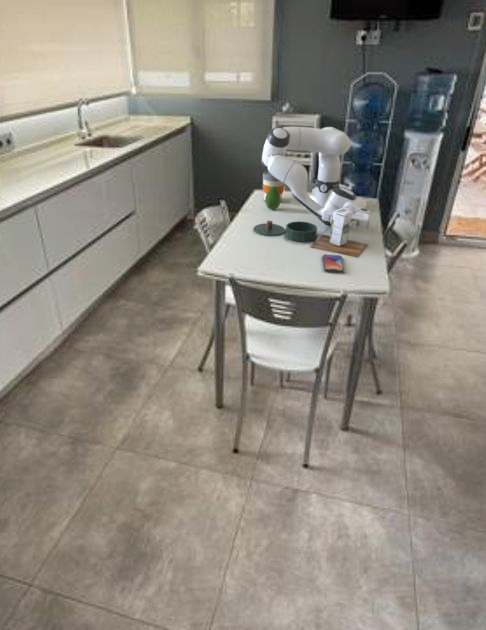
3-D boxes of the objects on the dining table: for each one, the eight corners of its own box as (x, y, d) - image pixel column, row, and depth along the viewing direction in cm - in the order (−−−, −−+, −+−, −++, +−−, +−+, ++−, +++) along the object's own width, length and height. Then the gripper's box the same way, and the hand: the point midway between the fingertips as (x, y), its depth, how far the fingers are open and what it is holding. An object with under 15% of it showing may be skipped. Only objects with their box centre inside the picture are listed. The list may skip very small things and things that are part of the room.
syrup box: (336, 239, 198) (340, 207, 190) (347, 243, 195) (352, 210, 187) (328, 242, 195) (333, 210, 187) (340, 246, 191) (345, 214, 183)
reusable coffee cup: (268, 195, 256) (270, 169, 248) (288, 200, 250) (290, 172, 242) (256, 201, 247) (258, 173, 240) (276, 205, 241) (278, 177, 234)
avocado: (276, 206, 240) (277, 184, 234) (282, 211, 234) (283, 188, 228) (262, 207, 238) (263, 185, 232) (267, 212, 232) (269, 189, 225)
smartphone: (341, 257, 184) (341, 255, 184) (343, 273, 172) (343, 270, 171) (322, 256, 185) (323, 254, 185) (323, 271, 172) (324, 269, 172)
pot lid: (261, 223, 217) (262, 214, 214) (289, 229, 211) (290, 219, 209) (247, 233, 206) (248, 223, 204) (277, 239, 200) (277, 229, 198)
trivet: (322, 236, 205) (322, 234, 204) (366, 244, 196) (366, 243, 196) (311, 247, 193) (311, 245, 193) (357, 257, 185) (357, 255, 185)
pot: (292, 230, 210) (293, 219, 207) (319, 236, 205) (321, 225, 202) (280, 239, 200) (281, 228, 197) (309, 246, 194) (310, 234, 192)
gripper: (328, 203, 202) (318, 212, 192) (373, 211, 194) (365, 221, 183) (326, 217, 205) (316, 226, 195) (371, 225, 197) (363, 235, 187)
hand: (340, 223), depth 189 cm, fingers closed on syrup box, 6 cm apart
